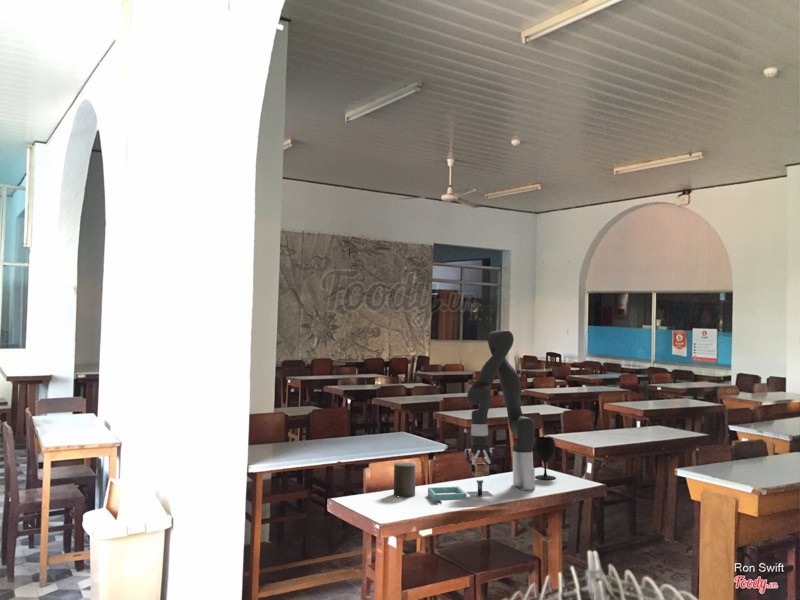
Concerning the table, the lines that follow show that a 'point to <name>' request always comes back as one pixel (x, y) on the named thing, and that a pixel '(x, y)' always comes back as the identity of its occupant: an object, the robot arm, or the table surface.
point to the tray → (438, 497)
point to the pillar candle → (404, 479)
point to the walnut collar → (481, 469)
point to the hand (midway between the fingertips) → (480, 472)
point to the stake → (480, 491)
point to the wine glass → (545, 454)
